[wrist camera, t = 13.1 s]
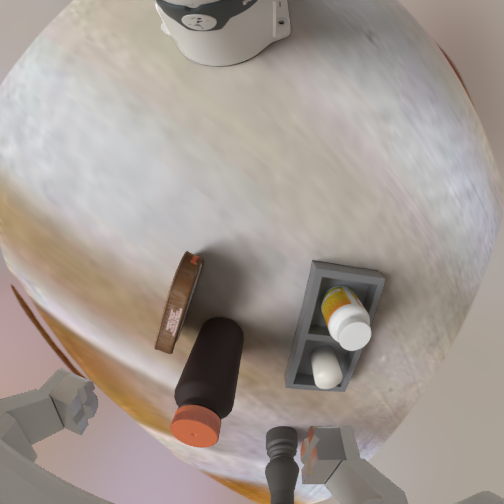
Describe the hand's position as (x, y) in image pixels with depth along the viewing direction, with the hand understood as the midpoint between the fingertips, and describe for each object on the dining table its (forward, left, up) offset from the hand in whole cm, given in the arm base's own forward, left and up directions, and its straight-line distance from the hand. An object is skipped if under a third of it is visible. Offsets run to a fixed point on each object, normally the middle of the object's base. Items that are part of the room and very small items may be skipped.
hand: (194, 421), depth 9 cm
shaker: (+17, +14, -30) cm, 37 cm away
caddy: (+12, +14, -31) cm, 36 cm away
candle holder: (+39, +12, -31) cm, 51 cm away
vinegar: (+16, -2, -31) cm, 35 cm away
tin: (+10, -8, -31) cm, 34 cm away
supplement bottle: (+7, +14, -30) cm, 34 cm away
